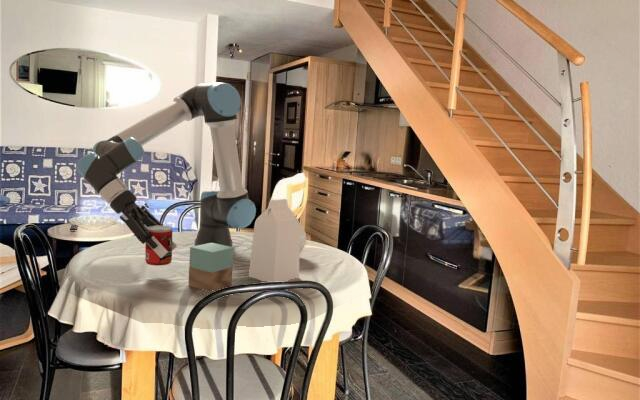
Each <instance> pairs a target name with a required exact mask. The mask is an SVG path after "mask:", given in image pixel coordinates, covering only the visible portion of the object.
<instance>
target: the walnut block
mask: <svg viewBox="0 0 640 400" xmlns="http://www.w3.org/2000/svg"><path fill="white" fill-rule="evenodd" d="M232 282H233V267H230V268H227V269H223V270H220V271H216V272H212V273H211V272H207V271H204V270H200V269H196V268H192V267H189V266H188V283H187V284H188V287H192V288H195V289H199V290H201V289H204V290H203V291H205V290H207V291H206V292H208V291H212V290H216V291H218V290H217V289H219V290H221V289H220V288H222V289H224V288H223V287H225V288H228V287H230V286H232V285H233V283H232ZM227 286H228V287H227ZM212 292H213V291H212Z"/></svg>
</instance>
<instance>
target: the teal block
mask: <svg viewBox="0 0 640 400" xmlns="http://www.w3.org/2000/svg"><path fill="white" fill-rule="evenodd" d="M234 250H235V249H234V246H232V247H229V246H225V245H220V244H216V243H207V244H202V245H197V246H190V247H189V264H188V265H189V266H188V268H189V267H192V268H196V269H200V270H204V271H207V272H211V273H212V272H216V271H220V270H223V269H227V268H230V267H232V268H234V267H233V266H234Z"/></svg>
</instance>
